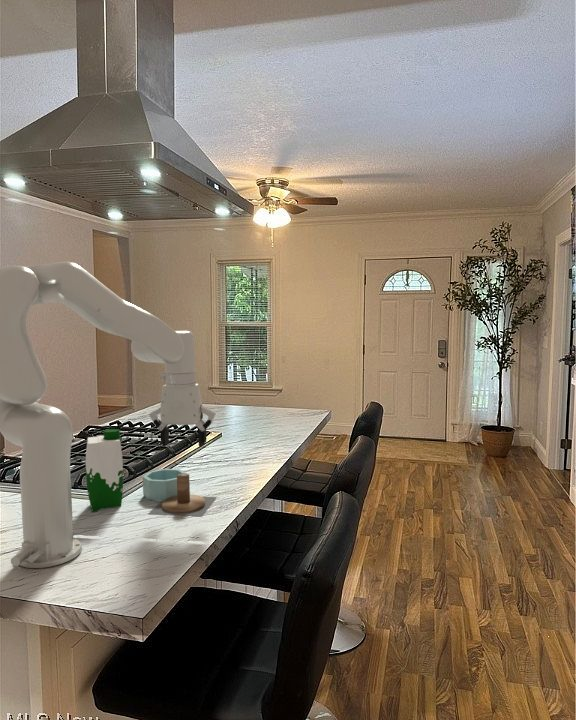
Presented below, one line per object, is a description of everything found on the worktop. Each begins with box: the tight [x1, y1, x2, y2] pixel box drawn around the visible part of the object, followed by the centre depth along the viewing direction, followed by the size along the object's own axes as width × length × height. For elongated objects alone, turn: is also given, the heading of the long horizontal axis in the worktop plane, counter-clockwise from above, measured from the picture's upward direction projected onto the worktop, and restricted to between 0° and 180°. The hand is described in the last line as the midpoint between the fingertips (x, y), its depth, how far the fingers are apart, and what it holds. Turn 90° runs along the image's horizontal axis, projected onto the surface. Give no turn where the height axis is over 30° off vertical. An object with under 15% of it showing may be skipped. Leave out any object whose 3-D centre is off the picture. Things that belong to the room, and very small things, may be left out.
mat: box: [147, 496, 218, 518], centre depth 139 cm, size 14×14×1 cm
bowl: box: [142, 468, 188, 502], centre depth 148 cm, size 11×11×6 cm
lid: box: [162, 472, 205, 513], centre depth 139 cm, size 11×11×8 cm
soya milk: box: [85, 428, 124, 513], centre depth 140 cm, size 9×9×20 cm
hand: (183, 445), depth 138 cm, fingers open, 9 cm apart
